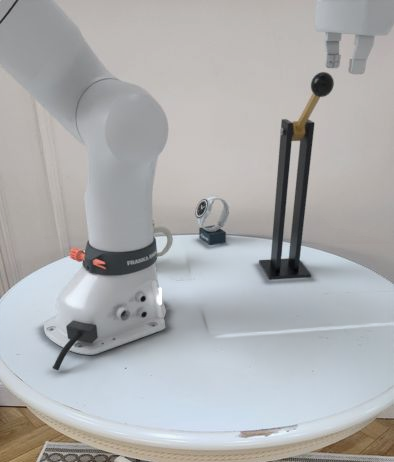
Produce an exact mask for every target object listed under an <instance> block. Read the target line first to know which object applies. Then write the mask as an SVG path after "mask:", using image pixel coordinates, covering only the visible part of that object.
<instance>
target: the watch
mask: <svg viewBox="0 0 394 462" xmlns="http://www.w3.org/2000/svg"><path fill="white" fill-rule="evenodd" d="M218 200H219V201H221V203H222V205H223V207H222V210H221V213H220V215H219V217H218V219H217V221H216V224H213V225H208V226H205V225H204V223H205V221H206V219H208V217H209V216H210V215H211V214H212V208H213V205H214V203H215V201H218ZM194 215H195V220H196V222H197V224H198V225H199V227H198V233H199V234H198V236H199V237H198V238H199V239H200V240H201V241H203V242H204V243H206V244H207V245H209V246H213V245H218V244H224V243H226V241H227V239H226V238H227V231H225V230H223V229H222V228H223V227H224V226H225V224H226V222H227V220H228V218H229V215H230V208H229V204H228V203H227V201H226V200H225V199H223V198H221V197H219V196H217V195H209V196H206V197H205V198H202V199H200V201H199V202H198V203H197V205H196V207H195V210H194Z"/></svg>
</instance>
